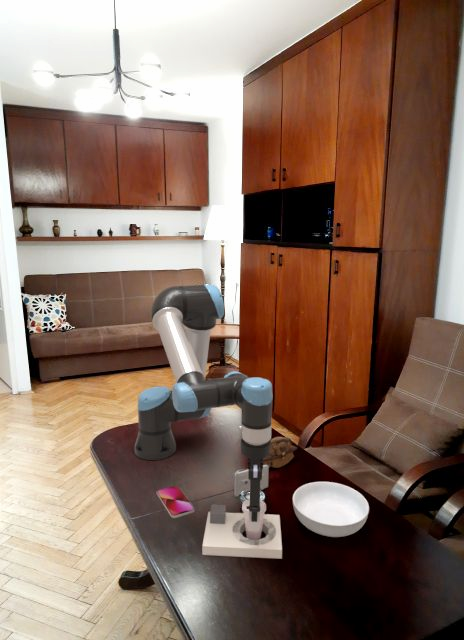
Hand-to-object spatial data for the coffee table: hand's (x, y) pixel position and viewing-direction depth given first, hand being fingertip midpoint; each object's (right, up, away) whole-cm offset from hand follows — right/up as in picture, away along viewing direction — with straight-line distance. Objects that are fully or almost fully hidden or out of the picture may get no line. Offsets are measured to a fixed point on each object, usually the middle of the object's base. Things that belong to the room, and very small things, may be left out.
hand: (254, 513), depth 118 cm
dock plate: (-3, -7, +1) cm, 8 cm away
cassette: (0, -3, +23) cm, 23 cm away
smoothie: (0, -7, +2) cm, 8 cm away
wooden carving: (+10, 0, +38) cm, 39 cm away
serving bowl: (+21, -6, +8) cm, 24 cm away
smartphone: (-23, -4, +17) cm, 29 cm away
